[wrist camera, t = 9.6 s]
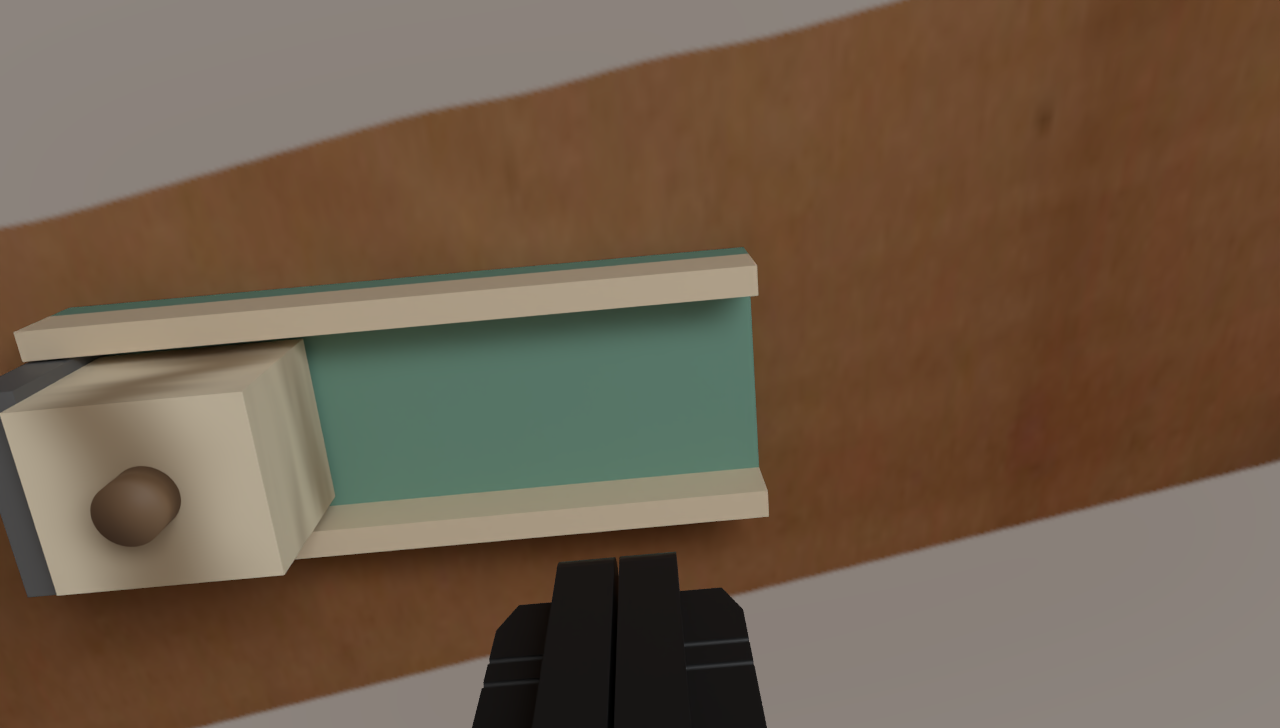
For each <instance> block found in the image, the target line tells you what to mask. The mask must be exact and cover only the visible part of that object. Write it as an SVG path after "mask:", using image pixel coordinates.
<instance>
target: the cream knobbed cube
mask: <svg viewBox="0 0 1280 728" xmlns="http://www.w3.org/2000/svg"><path fill="white" fill-rule="evenodd" d="M0 417H1V420H2V424H3V427H4V430H5V433H6V436H7V439H8V442H9V446H10V449H11V452H12V455H13V458H14V461H15V464H16V468H17V471H18V474H19V477H20V480H21V483H22V487H23V490H24V493H25V496H26V499H27V502H28V505H29V509H30V512H31V515H32V518H33V521H34V524H35V527H36V531H37V534H38V537H39V540H40V543H41V546H42V549H43V553H44V556H45V559H46V562H47V565H48V568H49V572H50V575H51V578H52V581H53V584H54V587H55V590H56V594H57V596H59V595H71V594H82V593H93V592H104V591H115V590H126V589H137V588H148V587H159V586H170V585H181V584H192V583H203V582H214V581H225V580H236V579H247V578H258V577H269V576H280V575H285V573H286V572H287V570H288V569H289V567H290V566H291V564H292V563H293V561H294V559H295V558H296V556H297V555H298V553H299V552H300V550H301V549H302V547H303V546H304V544H305V543H306V541H307V539H308V538H309V536H310V535H311V533H312V532H313V530H314V529H315V527H316V526H317V524H318V522H319V521H320V519H321V518H322V516H323V515H324V513H325V512H326V510H327V509H328V507H329V505H330V504H331V502H332V501H333V499H334V498H335V492H334V487H333V482H332V478H331V473H330V468H329V463H328V458H327V453H326V448H325V443H324V438H323V434H322V429H321V424H320V419H319V414H318V409H317V404H316V399H315V395H314V390H313V385H312V380H311V375H310V370H309V365H308V360H307V356H306V351H305V346H304V341H303V339H293V340H282V341H271V342H260V343H249V344H238V345H227V346H215V347H204V348H193V349H182V350H171V351H160V352H149V353H138V354H127V355H116V356H105V357H99V358H97V359H96V360H94V361H92V362H90V363H88V364H87V365H85V366H83V367H81V368H80V369H78V370H76V371H74V372H72V373H71V374H69V375H67V376H65V377H64V378H62V379H60V380H58V381H56V382H55V383H53V384H51V385H49V386H47V387H46V388H44V389H42V390H40V391H39V392H37V393H35V394H33V395H31V396H30V397H28V398H26V399H24V400H23V401H21V402H19V403H17V404H15V405H14V406H12V407H10V408H8V409H6V410H5V411H3V412H1V413H0Z"/></svg>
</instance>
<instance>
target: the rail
mask: <svg viewBox="0 0 1280 728" xmlns="http://www.w3.org/2000/svg"><path fill="white" fill-rule="evenodd" d="M750 296H758V279H757V265H756V263H755V262H754V261H753V259H752V258H751V257H750V255H749V254H748V253H747V251H746V250H745V249H744V247H740V248H729V249H718V250H707V251H695V252H684V253H673V254H662V255H651V256H640V257H629V258H618V259H607V260H596V261H584V262H573V263H562V264H551V265H540V266H529V267H518V268H507V269H496V270H485V271H474V272H462V273H451V274H440V275H429V276H418V277H407V278H396V279H385V280H374V281H363V282H352V283H340V284H329V285H318V286H307V287H296V288H285V289H274V290H263V291H252V292H241V293H230V294H218V295H207V296H196V297H185V298H174V299H163V300H152V301H141V302H130V303H119V304H107V305H96V306H85V307H74V308H68V309H66V310H63V311H61V312H59V313H57V314H54V315H52V316H50V317H47V318H45V319H43V320H41V321H38V322H36V323H34V324H31V325H29V326H27V327H25V328H22V329H20V330H18V331H16V332H14V335H15V339H16V342H17V345H18V349H19V352H20V355H21V359H22V362H27V361H30V362H28V363H26V364H24V365H22V366H20V367H18V368H16V369H14V370H12V371H10V372H8V373H6V374H4V375H2V376H0V413H1V412H3V411H5V410H6V409H8V408H10V407H12V406H14V405H15V404H17V403H19V402H21V401H23V400H24V399H26V398H28V397H30V396H31V395H33V394H35V393H37V392H39V391H40V390H42V389H44V388H46V387H47V386H49V385H51V384H53V383H55V382H56V381H58V380H60V379H62V378H64V377H65V376H67V375H69V374H71V373H72V372H74V371H76V370H78V369H80V368H81V367H83V366H85V365H87V364H88V363H90V362H92V361H94V360H96V359H97V358H99V357H105V356H116V355H127V354H138V353H149V352H160V351H171V350H182V349H193V348H204V347H215V346H227V345H238V344H249V343H260V342H271V341H282V340H293V339H303V341H304V346H305V351H306V356H307V360H308V365H309V370H310V375H311V380H312V385H313V390H314V395H315V399H316V404H317V409H318V414H319V419H320V424H321V429H322V434H323V438H324V443H325V448H326V453H327V458H328V463H329V468H330V473H331V478H332V482H333V487H334V492H335V498H334V499H333V501H332V502H331V504H330V505H329V507H328V509H327V510H326V512H325V513H324V515H323V516H322V518H321V519H320V521H319V522H318V524H317V526H316V527H315V529H314V530H313V532H312V533H311V535H310V536H309V538H308V539H307V541H306V543H305V544H304V546H303V547H302V549H301V550H300V552H299V553H298V555H297V556H296V558H295V559H306V558H317V557H328V556H339V555H350V554H361V553H372V552H383V551H394V550H405V549H416V548H427V547H438V546H449V545H460V544H471V543H482V542H493V541H504V540H515V539H526V538H537V537H548V536H559V535H570V534H581V533H592V532H603V531H614V530H625V529H636V528H647V527H658V526H669V525H680V524H691V523H702V522H713V521H724V520H735V519H747V518H758V517H769V510H768V490H767V488H766V485H765V482H764V480H763V477H762V474H761V472H760V469H759V460H758V440H757V420H756V400H755V380H754V360H753V340H752V320H751V301H750ZM0 514H1V517H2V520H3V523H4V526H5V529H6V532H7V535H8V538H9V541H10V544H11V548H12V551H13V554H14V557H15V560H16V563H17V566H18V569H19V572H20V575H21V578H22V581H23V584H24V587H25V590H26V593H27V596H28V597H37V596H48V595H57V594H56V590H55V587H54V584H53V581H52V578H51V575H50V572H49V568H48V565H47V562H46V559H45V556H44V553H43V549H42V546H41V543H40V540H39V537H38V534H37V531H36V527H35V524H34V521H33V518H32V515H31V512H30V509H29V505H28V502H27V499H26V496H25V493H24V490H23V487H22V483H21V480H20V477H19V474H18V471H17V468H16V464H15V461H14V458H13V455H12V452H11V449H10V446H9V442H8V439H7V436H6V433H5V430H4V427H3V424H2V420H1V417H0Z"/></svg>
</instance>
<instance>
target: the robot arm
mask: <svg viewBox="0 0 1280 728" xmlns="http://www.w3.org/2000/svg"><path fill="white" fill-rule="evenodd" d="M489 661H490V664H488V667H487V670H486V674H485V678H484V688H482V691H481V694H480V698H479V702H478V706H477V710H476V714H475V718H474V722H473V726H472V728H767V726H766V721H765V716H764V711H763V706H762V701H761V696H760V691H759V686H758V681H757V676H756V671H755V666H754V664H753V657H752V652H751V647H750V642H749V638H748V632H747V627H746V622H745V617H744V612H743V609H742V608H741V607H740V606H739V605H738V604H737V603H736V602H735V601H734V600H733V599H732V598H731V597H730V596H729V595H728V594H727V593H726V592H725V591H724V590H723V589H722V588H711V589H699V590H688V591H680V589H679V578H678V567H677V557H676V552H668V553H657V554H645V555H634V556H622V557H620V560H619V574H618V567H617V561H616V558H615V557H613V558H602V559H590V560H579V561H567V562H559V563H558V566H557V572H556V578H555V585H554V591H553V597H552V602H551V603H540V604H528V605H519V606H518V607H517V608H516V609H515V610H514V611H513V613H512V614H511V615H510V616H509V617H508V618H507V619H506V620H505V622H504V623H503V624H502V625H501V626H500V627H499V628H498V629H497V631H496V634H495V638H494V642H493V646H492V650H491V654H490V658H489Z"/></svg>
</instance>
